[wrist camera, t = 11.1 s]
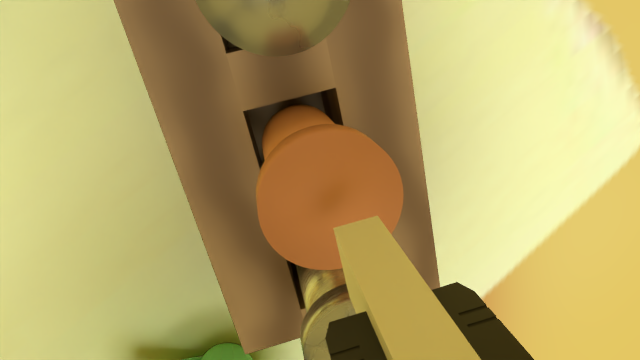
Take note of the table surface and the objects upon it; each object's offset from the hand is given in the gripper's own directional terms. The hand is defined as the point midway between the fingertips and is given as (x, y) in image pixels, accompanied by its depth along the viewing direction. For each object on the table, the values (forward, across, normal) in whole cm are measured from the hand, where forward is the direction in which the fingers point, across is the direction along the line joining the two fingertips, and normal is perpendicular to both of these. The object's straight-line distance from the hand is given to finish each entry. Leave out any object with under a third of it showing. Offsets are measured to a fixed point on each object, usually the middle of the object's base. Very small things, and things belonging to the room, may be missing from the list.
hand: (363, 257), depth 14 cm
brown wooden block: (+23, 0, 0) cm, 23 cm away
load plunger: (+15, 0, 0) cm, 15 cm away
